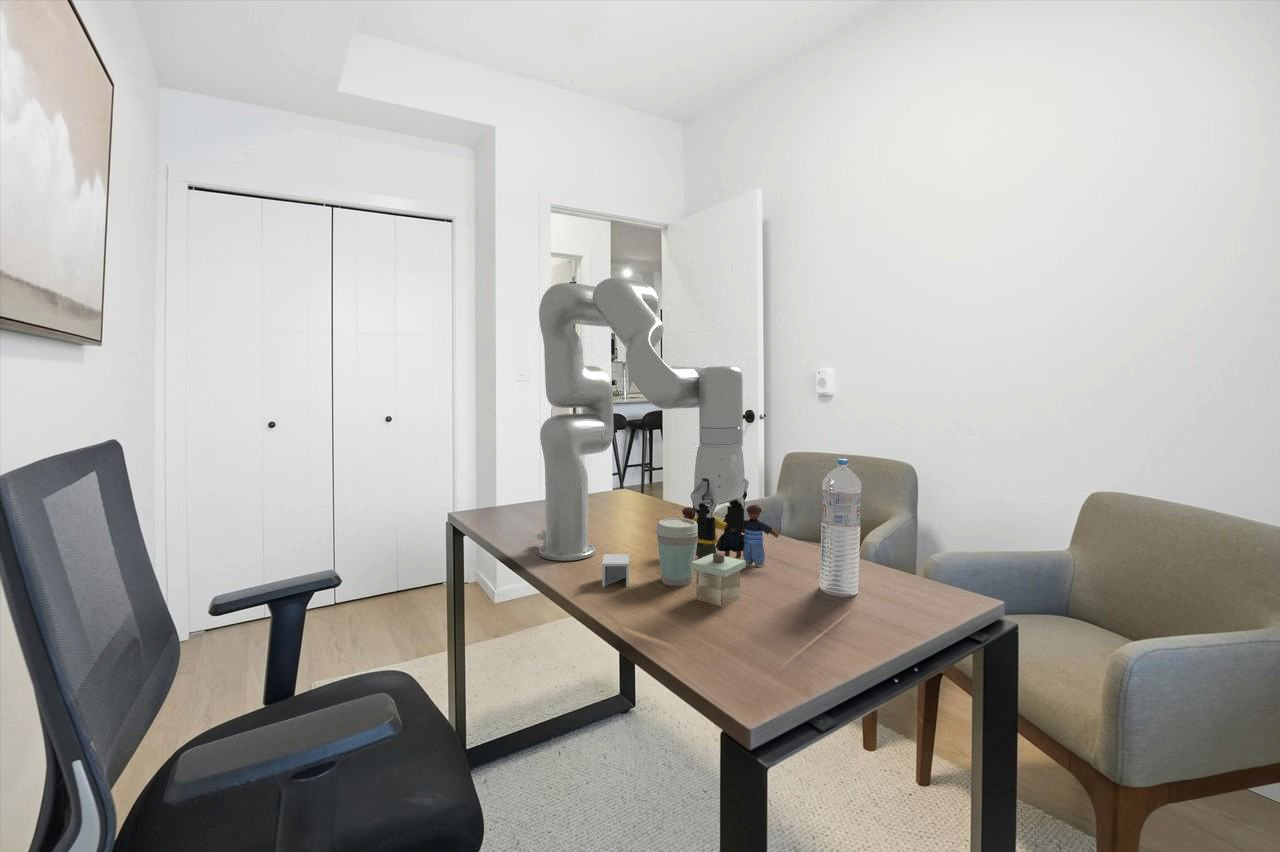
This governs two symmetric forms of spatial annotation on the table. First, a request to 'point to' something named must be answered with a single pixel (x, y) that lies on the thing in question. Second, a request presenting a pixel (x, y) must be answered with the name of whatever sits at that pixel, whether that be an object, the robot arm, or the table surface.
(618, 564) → the white cuboid
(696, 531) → the coffee cup
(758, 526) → the doll family
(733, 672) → the table surface
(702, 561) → the lid
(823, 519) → the water bottle
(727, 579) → the box
